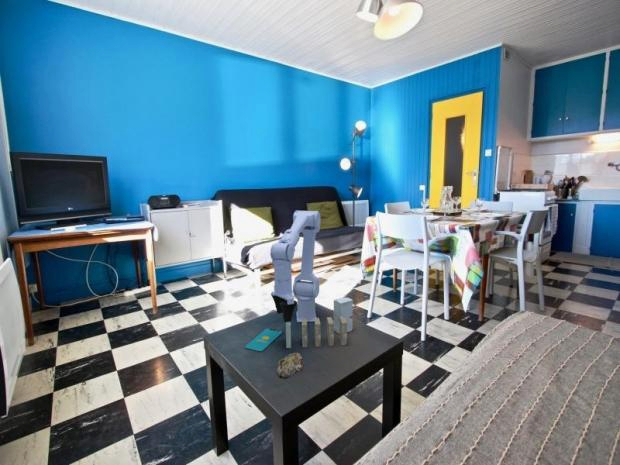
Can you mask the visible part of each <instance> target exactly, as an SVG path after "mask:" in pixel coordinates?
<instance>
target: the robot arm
mask: <svg viewBox="0 0 620 465" xmlns="http://www.w3.org/2000/svg"><path fill="white" fill-rule="evenodd" d="M292 221H293V223H292V225H291V227H290V228H289V229H286V230H285V231H284V233H283V235H281V237H280V239H279V240H278V242H275V243H273V244H272V245H271V247H270V252H269V254H270V255H269V257H270V259H271V260H272V262H271V263H272V266H273V270H274V272H273V275H274V285H273V290H274V291H271V293H270V296H271V297H272V299H273V302H274V306H275V309H276V313H277V314H278V315H279V314H282V316H283V321H284V323H286V322H292V318H293V315H294V311H295V309H296V307H297V311H296V313H295V314H296V322H297V323H302V318H306V321H307V323H308V322H309V323H311V322H312V323H314V318H317V314H316V298H318V296H319V293H320V279H319V278H318V277H317V276H316V275H315V274H314V262H315V261H314V260H315V247H316V245H315V244H316V235H317V233H319V232H320V229H321V214H320V212H319V211H318V210H297V209H296V210H294V213H293V214H292ZM301 233H302V235H303V237H302V238H303V239H302V240H303V241H302V251H301V252H302V253H301V266H300V273H299V274H297V275H296V276H295V277H294V280H292V276H293V275H292V273H293V272H292V260H293V259H294V255H295V251H296V246H297V245H298V242H299V241H300V239H301V238H300V234H301ZM292 281H293V282H292ZM294 296H295V297H294ZM295 298H296V300H295Z"/></svg>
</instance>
